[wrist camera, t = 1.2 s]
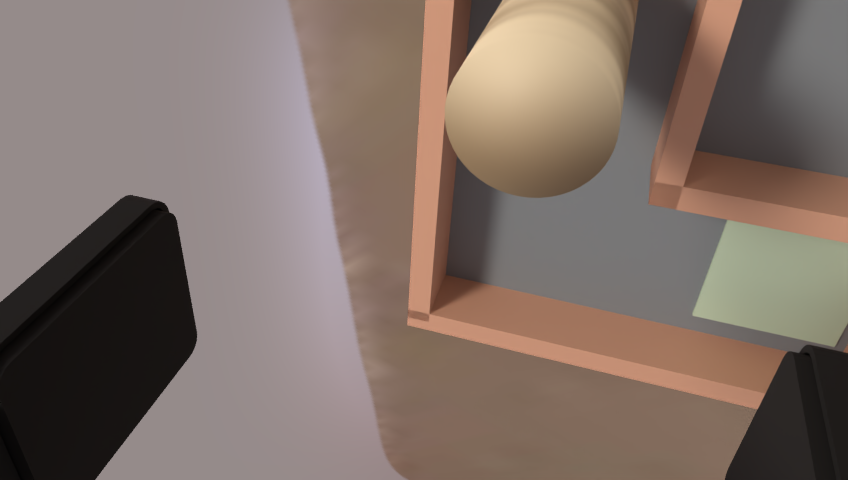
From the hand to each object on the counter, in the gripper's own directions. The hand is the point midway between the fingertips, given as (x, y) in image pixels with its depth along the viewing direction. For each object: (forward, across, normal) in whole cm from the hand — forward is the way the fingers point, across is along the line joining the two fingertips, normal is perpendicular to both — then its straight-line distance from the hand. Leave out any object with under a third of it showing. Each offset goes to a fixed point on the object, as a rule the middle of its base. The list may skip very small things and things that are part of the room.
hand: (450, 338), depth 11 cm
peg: (+19, 0, 0) cm, 19 cm away
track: (+20, -5, +6) cm, 21 cm away
